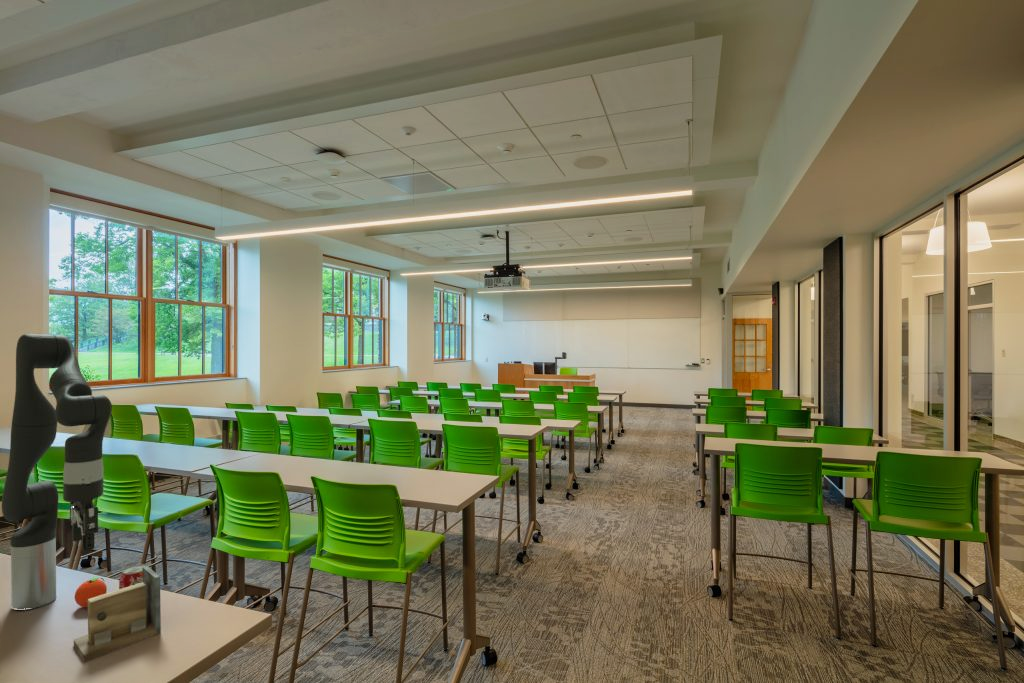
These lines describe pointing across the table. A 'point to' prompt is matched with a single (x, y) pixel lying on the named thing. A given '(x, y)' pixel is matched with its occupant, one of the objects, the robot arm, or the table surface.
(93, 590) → the clementine
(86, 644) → the cabinet base
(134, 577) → the soda can
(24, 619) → the table surface
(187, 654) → the table surface
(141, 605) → the cabinet door
